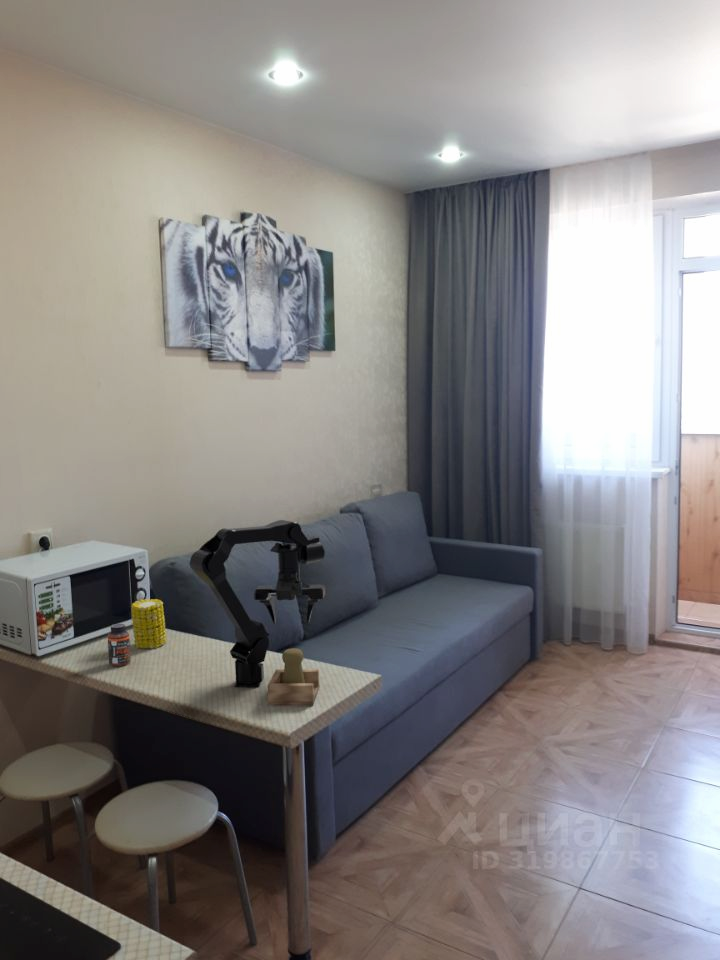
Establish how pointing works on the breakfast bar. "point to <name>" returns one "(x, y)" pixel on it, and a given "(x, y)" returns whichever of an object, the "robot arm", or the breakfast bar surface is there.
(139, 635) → the food
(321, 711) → the breakfast bar surface
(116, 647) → the supplement bottle
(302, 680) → the cork
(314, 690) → the wooden box
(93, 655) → the breakfast bar surface
